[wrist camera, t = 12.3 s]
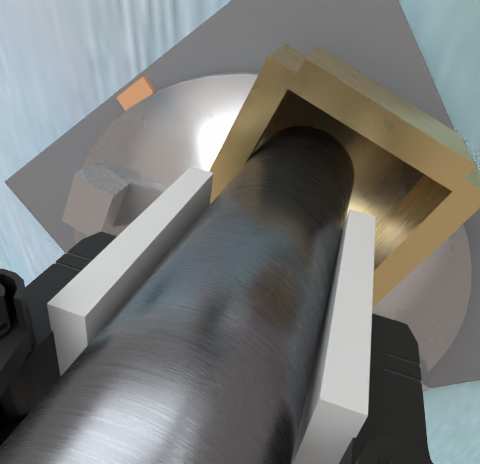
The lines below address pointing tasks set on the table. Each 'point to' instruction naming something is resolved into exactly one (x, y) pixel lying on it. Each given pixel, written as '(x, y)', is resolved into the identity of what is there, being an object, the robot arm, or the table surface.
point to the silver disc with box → (350, 136)
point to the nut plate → (253, 58)
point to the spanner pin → (211, 328)
